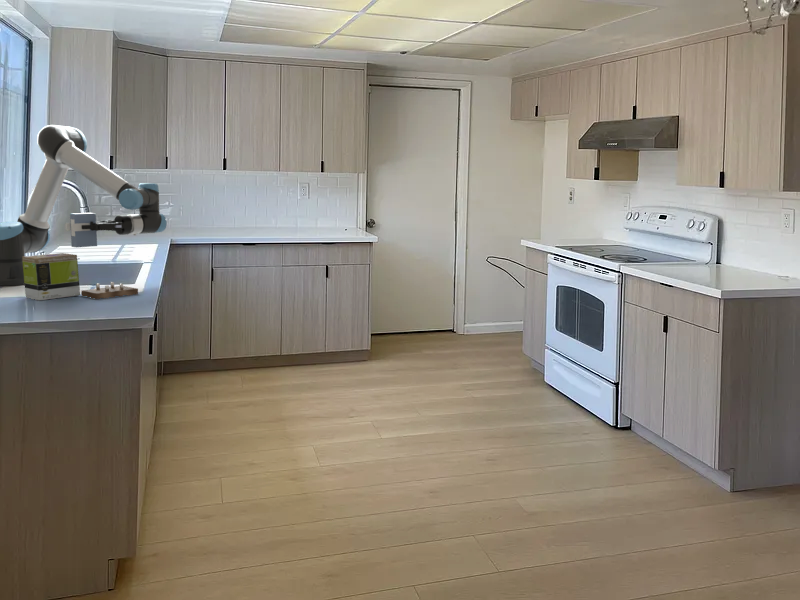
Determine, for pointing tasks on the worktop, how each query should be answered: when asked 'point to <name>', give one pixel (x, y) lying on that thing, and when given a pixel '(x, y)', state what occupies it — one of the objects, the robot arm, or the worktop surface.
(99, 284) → the dock pins
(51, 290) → the tea box
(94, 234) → the block
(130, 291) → the dock
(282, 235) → the worktop surface
